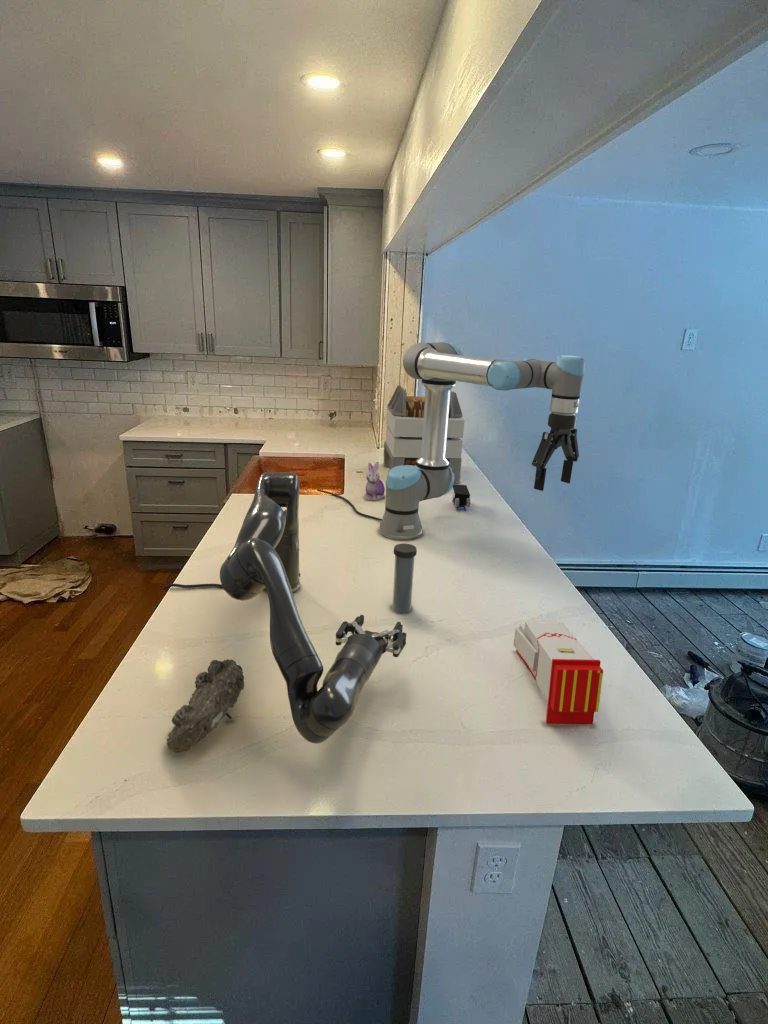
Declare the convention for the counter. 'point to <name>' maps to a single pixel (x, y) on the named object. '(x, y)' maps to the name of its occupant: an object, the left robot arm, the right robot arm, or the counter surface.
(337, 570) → the counter surface
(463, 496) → the figurine character
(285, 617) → the left robot arm
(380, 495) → the figurine
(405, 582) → the jar
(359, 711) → the counter surface
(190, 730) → the fossil
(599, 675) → the toy
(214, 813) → the counter surface
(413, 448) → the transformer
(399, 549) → the lid
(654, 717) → the counter surface
